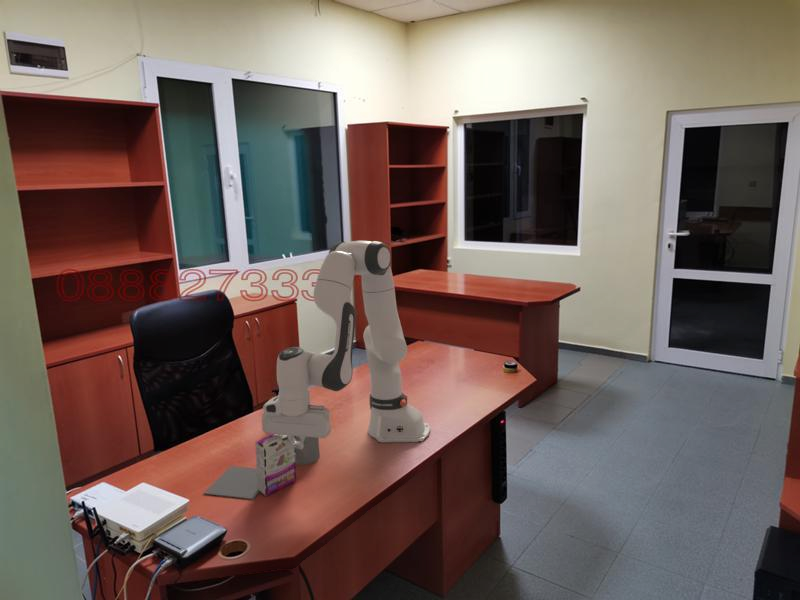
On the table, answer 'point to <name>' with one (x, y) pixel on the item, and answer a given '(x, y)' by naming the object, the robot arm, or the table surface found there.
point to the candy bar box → (275, 463)
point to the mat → (236, 483)
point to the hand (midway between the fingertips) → (297, 448)
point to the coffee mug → (307, 451)
